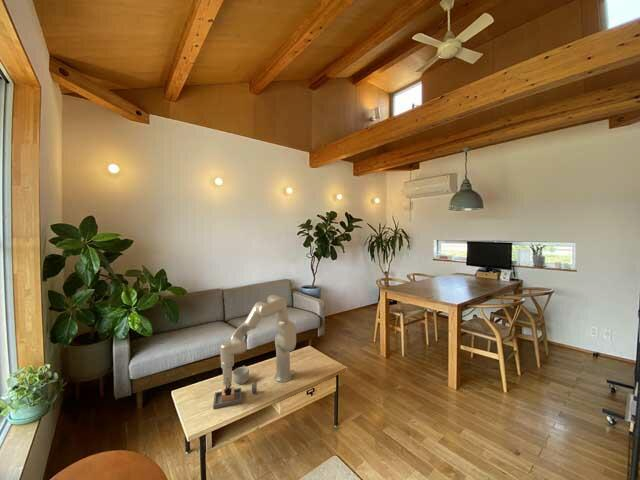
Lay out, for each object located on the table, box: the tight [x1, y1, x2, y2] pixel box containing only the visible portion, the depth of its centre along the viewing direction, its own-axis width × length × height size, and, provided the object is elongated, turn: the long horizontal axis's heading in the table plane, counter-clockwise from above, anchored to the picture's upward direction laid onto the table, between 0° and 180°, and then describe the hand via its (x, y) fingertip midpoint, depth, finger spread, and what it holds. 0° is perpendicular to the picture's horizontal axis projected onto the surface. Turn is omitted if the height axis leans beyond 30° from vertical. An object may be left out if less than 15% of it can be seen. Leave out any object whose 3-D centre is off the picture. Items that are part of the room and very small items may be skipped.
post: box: [251, 381, 258, 395], centre depth 172 cm, size 3×3×6 cm
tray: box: [212, 387, 243, 410], centre depth 165 cm, size 16×13×2 cm
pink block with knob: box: [221, 386, 235, 402], centre depth 165 cm, size 7×7×5 cm
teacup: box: [232, 365, 250, 385], centre depth 187 cm, size 14×11×8 cm
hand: (228, 390), depth 165 cm, fingers open, 9 cm apart
